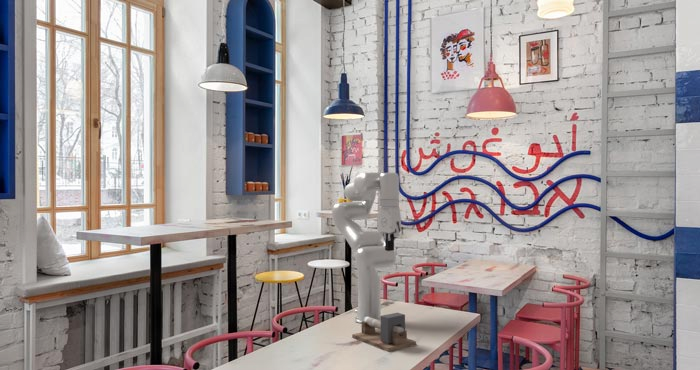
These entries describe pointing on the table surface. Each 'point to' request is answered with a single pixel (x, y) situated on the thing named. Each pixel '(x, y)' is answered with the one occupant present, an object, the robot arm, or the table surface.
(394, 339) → the pipe rig
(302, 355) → the table surface
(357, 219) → the robot arm
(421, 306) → the table surface
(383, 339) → the collar
